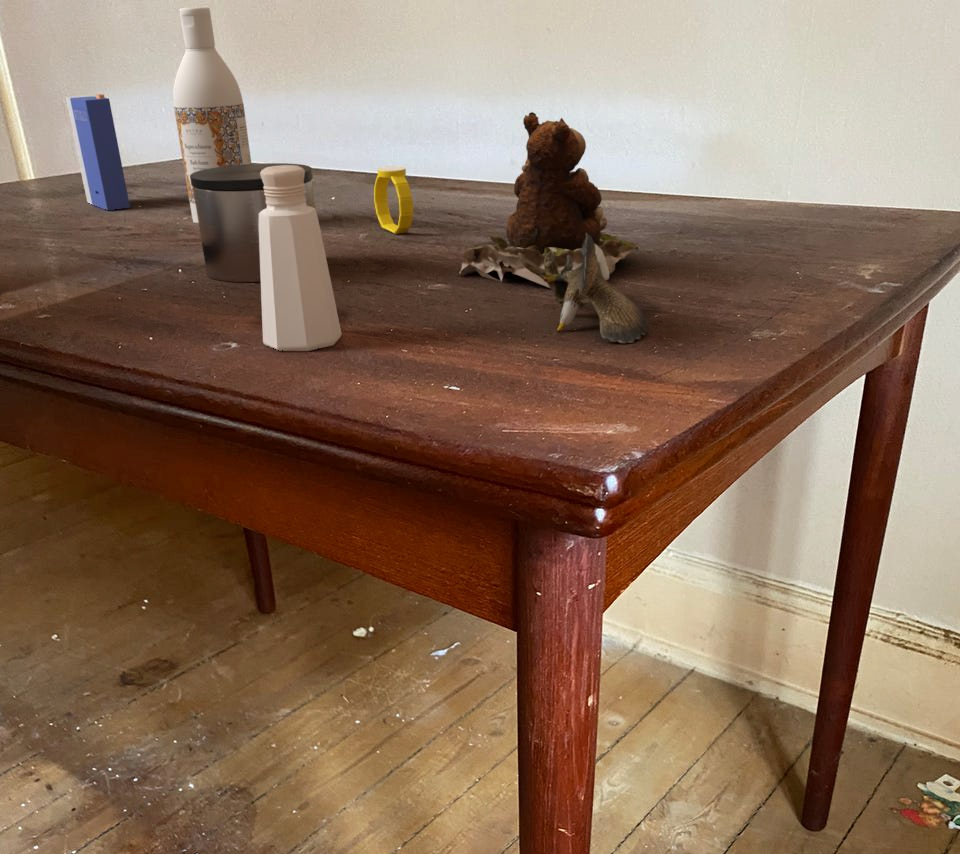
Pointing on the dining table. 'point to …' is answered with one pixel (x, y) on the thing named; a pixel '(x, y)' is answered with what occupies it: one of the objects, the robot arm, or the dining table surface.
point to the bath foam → (207, 104)
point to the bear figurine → (549, 209)
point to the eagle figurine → (591, 293)
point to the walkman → (98, 151)
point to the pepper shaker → (293, 267)
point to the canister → (234, 218)
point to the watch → (403, 195)
